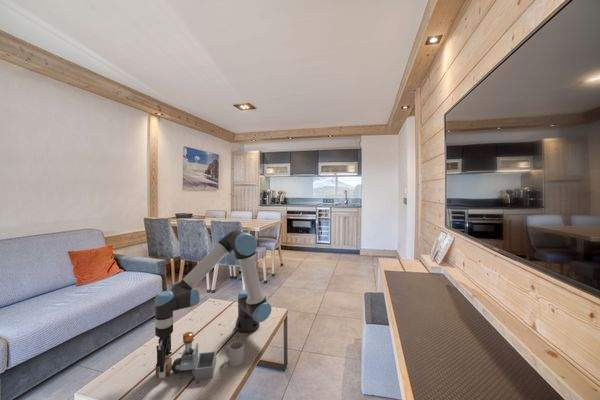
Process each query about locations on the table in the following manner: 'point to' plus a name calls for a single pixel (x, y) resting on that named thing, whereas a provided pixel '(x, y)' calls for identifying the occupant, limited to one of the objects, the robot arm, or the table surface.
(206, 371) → the bin
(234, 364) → the cup
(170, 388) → the table surface
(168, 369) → the block
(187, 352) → the pin
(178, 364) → the grey bracket
